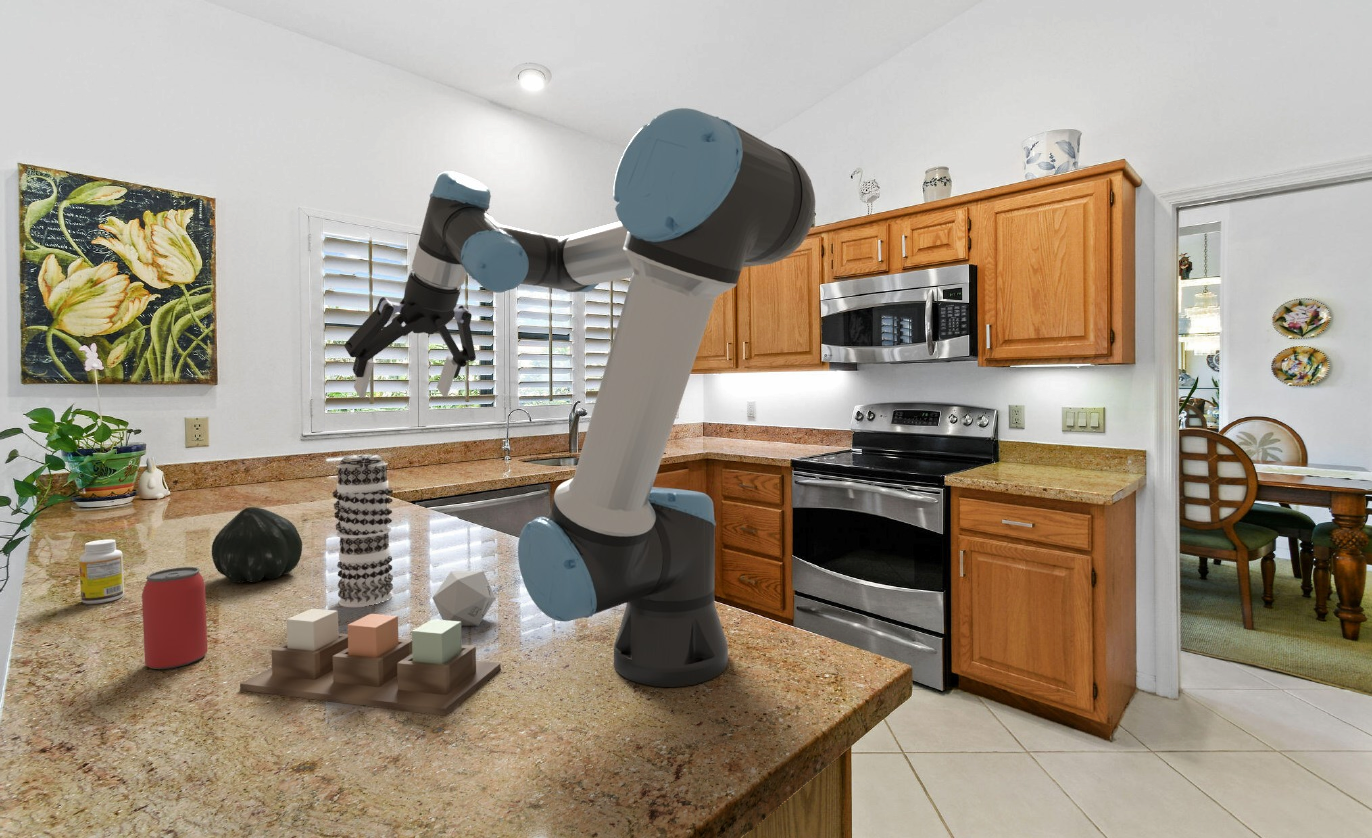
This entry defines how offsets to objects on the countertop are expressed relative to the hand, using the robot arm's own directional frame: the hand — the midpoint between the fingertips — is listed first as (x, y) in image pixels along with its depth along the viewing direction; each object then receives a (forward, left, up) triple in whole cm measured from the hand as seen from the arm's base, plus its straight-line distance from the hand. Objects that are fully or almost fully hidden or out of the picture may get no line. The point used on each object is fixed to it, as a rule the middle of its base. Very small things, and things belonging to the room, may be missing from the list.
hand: (402, 392), depth 104 cm
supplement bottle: (+55, +8, -36) cm, 66 cm away
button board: (-13, +24, -36) cm, 45 cm away
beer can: (+17, +25, -36) cm, 47 cm away
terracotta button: (-13, +24, -32) cm, 43 cm away
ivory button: (-4, +24, -32) cm, 41 cm away
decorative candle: (+10, -2, -36) cm, 37 cm away
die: (-13, +4, -36) cm, 39 cm away
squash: (+40, -9, -36) cm, 54 cm away
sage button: (-22, +24, -32) cm, 46 cm away
